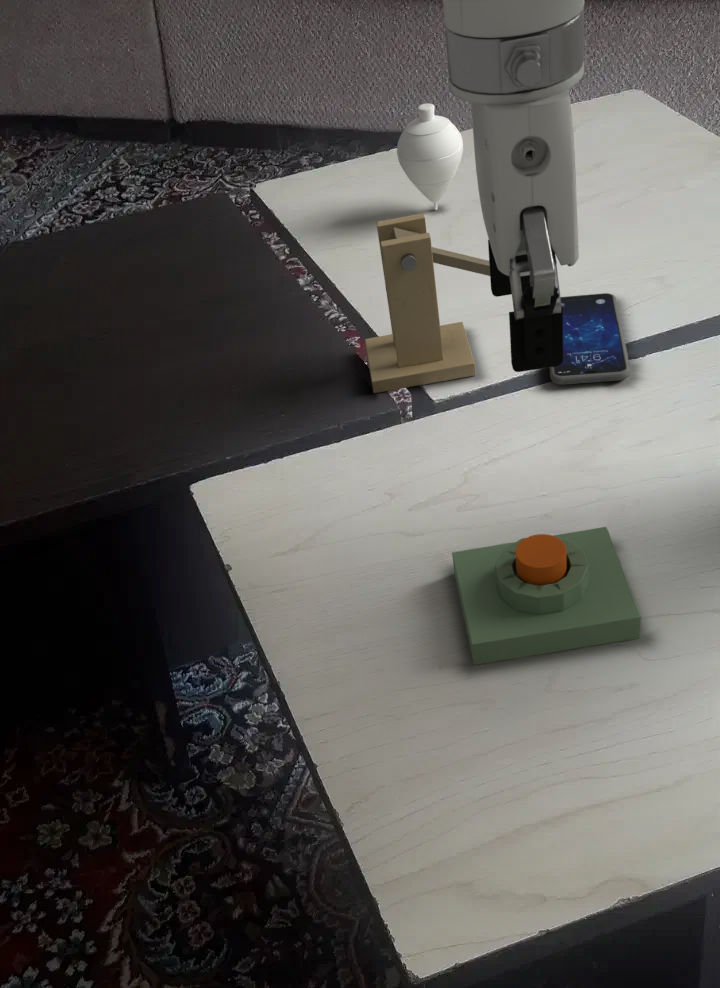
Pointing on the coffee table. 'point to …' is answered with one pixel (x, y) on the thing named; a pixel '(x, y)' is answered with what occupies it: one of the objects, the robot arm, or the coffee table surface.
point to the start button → (541, 559)
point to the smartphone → (591, 341)
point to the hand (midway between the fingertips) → (525, 327)
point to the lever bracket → (414, 316)
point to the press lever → (450, 256)
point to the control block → (545, 600)
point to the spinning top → (430, 152)
